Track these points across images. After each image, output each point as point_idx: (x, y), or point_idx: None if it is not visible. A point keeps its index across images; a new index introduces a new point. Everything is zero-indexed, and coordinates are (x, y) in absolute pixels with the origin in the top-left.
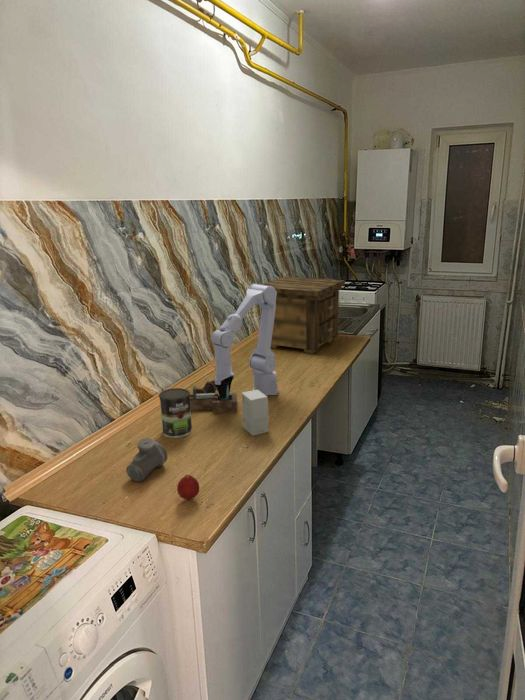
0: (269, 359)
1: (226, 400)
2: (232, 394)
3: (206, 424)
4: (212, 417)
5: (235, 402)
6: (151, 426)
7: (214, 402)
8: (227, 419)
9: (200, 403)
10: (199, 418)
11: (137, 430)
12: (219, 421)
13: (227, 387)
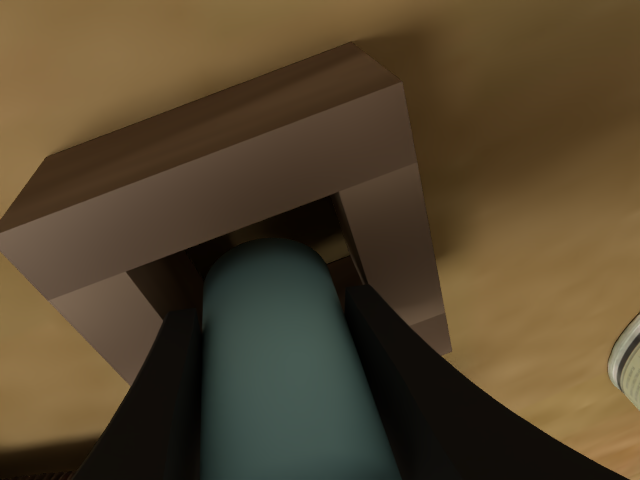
0: None
1: (367, 250)
2: (104, 268)
3: (637, 220)
4: (505, 235)
5: (401, 98)
6: (596, 445)
7: (441, 338)
8: (565, 79)
9: None
10: (518, 310)
11: (627, 461)
12: (599, 142)
13: (330, 422)
